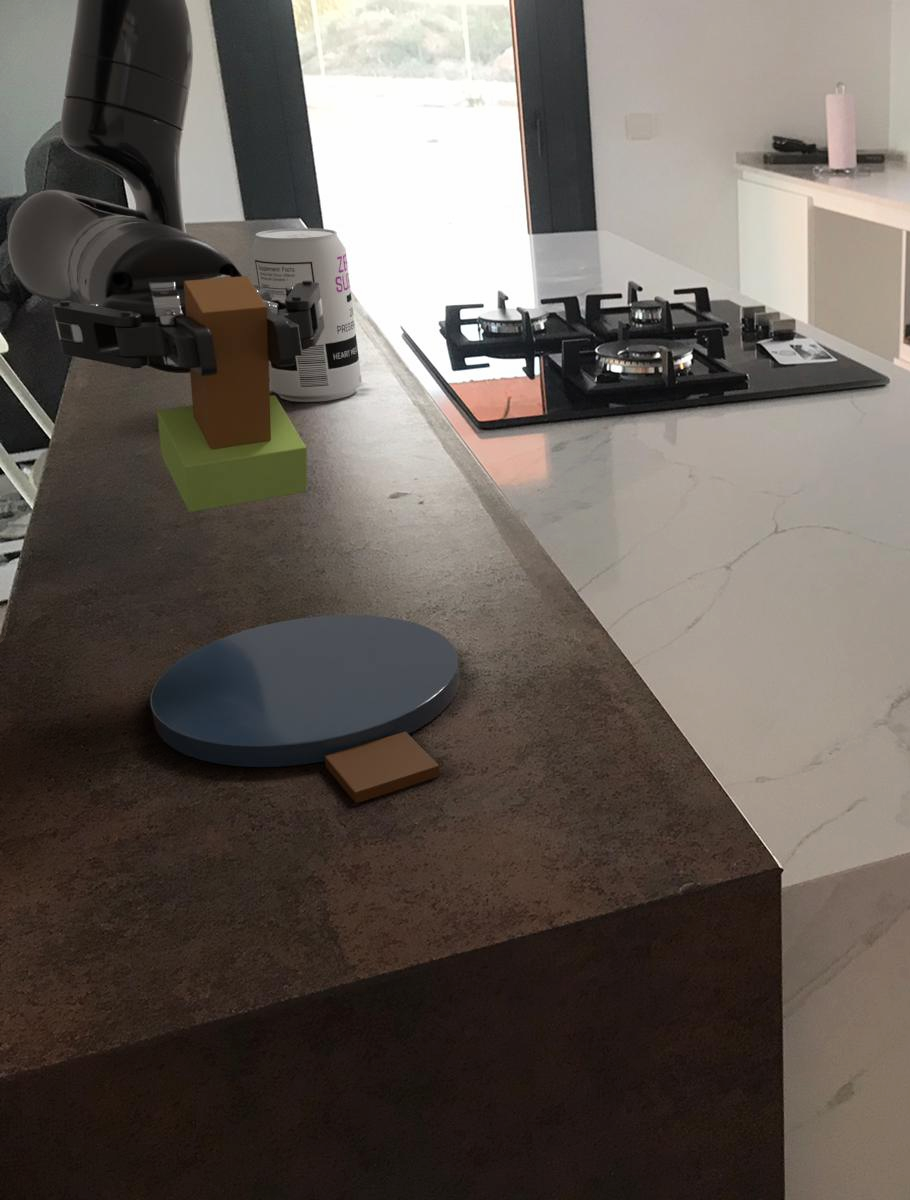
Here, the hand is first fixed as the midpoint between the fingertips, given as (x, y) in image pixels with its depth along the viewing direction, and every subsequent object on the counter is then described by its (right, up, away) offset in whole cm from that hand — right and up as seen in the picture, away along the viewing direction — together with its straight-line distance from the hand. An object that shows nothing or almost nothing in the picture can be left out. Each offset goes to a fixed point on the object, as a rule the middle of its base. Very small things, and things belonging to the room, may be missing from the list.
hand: (247, 349), depth 61 cm
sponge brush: (-4, -5, +8) cm, 10 cm away
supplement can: (-20, +8, +63) cm, 66 cm away
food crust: (+7, -20, -1) cm, 21 cm away
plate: (+1, -17, +6) cm, 18 cm away
